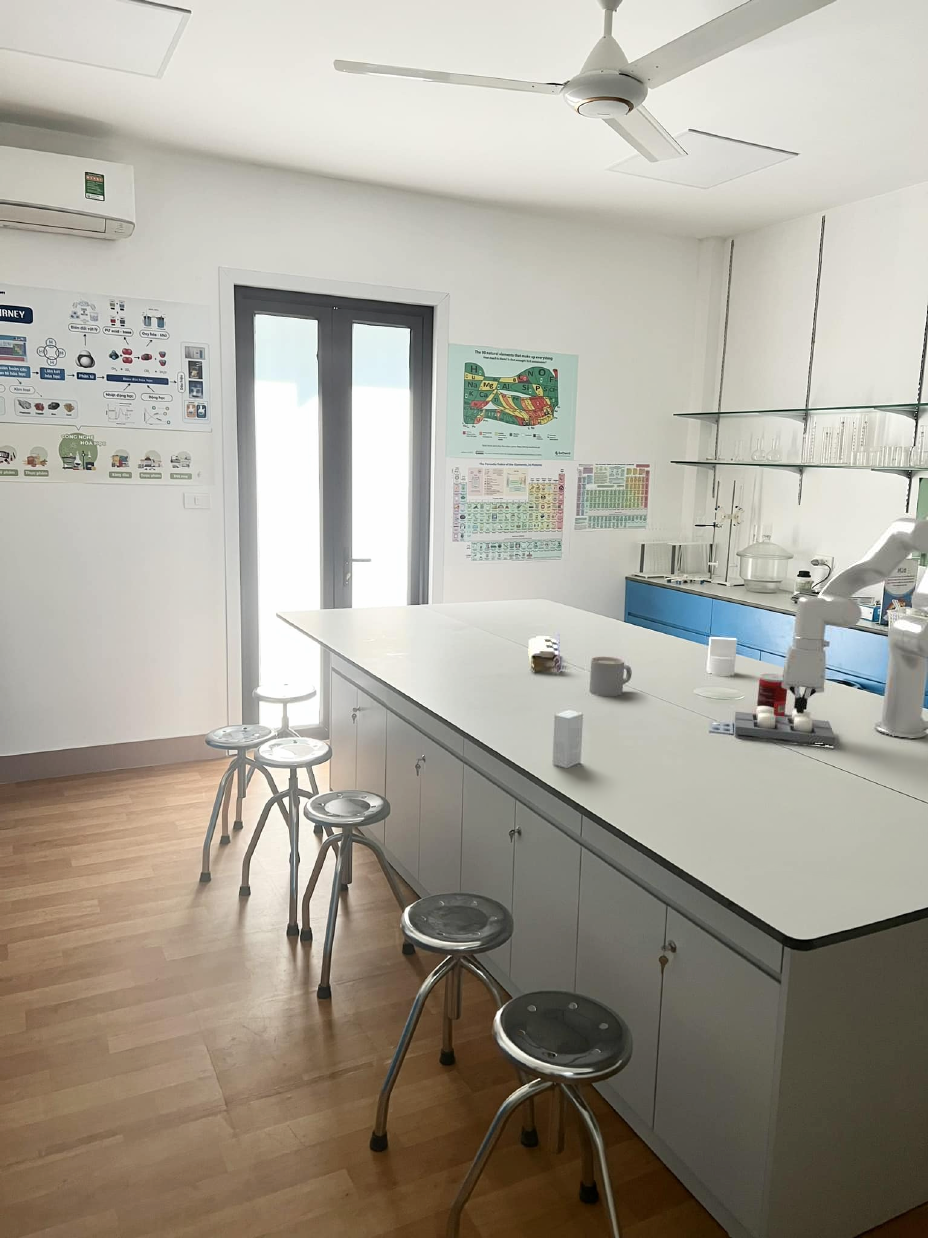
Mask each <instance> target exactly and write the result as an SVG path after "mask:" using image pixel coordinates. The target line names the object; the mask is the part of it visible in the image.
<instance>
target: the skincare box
mask: <svg viewBox="0 0 928 1238" xmlns="http://www.w3.org/2000/svg"><path fill="white" fill-rule="evenodd" d="M553 718H554V723H553V741H552V742H553V744H552V745H553V746H552V747H553V748H552V765H553V764H554V766H557V765H558V766H557V767H560V766H561V767H560V768H564V769H569V768H571V767H573V766H575V765H577V764H580V763H581V760H582V745H583V743H582V741H583V724H584V722H583V721H584V713H583V712H580V711H574V710H570V709H567V710H565V711H561V712H559V713H556V714H554V717H553Z"/></svg>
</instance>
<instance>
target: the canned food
mask: <svg viewBox="0 0 928 1238" xmlns="http://www.w3.org/2000/svg"><path fill="white" fill-rule="evenodd" d="M782 681H783V674H778V673H762V674H760V675H759V681H758V691H757V702H756V708H757V707H758V706H768V707H772V708H774V715H775V716H783V715H784V716H785V713H786V707H787V706H786V705H787V695H788V690H787V689H784V688H782V687H781V684H782Z"/></svg>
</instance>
